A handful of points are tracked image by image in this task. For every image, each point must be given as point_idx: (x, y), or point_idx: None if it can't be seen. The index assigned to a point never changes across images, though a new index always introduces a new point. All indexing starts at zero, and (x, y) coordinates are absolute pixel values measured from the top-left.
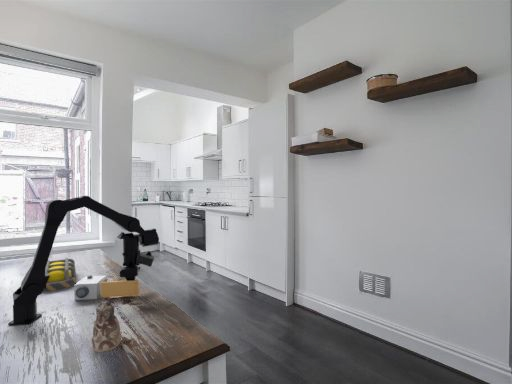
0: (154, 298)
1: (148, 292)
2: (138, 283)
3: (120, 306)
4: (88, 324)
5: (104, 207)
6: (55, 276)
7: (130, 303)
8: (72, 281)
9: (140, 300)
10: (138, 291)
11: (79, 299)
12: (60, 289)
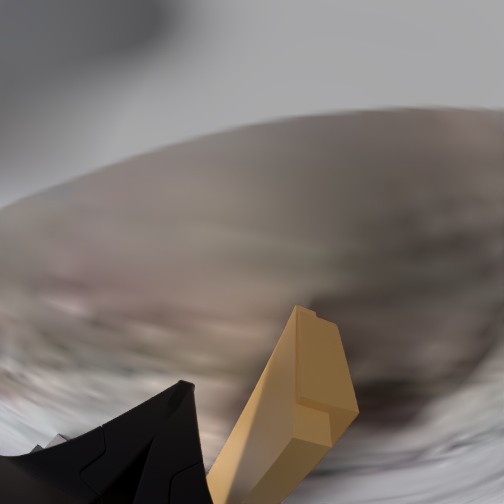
0: (475, 170)
1: (246, 180)
2: (353, 405)
3: (442, 437)
4: (498, 496)
5: None
6: None
7: (447, 384)
8: None
9: (446, 306)
10: (337, 336)
11: None
12: None
